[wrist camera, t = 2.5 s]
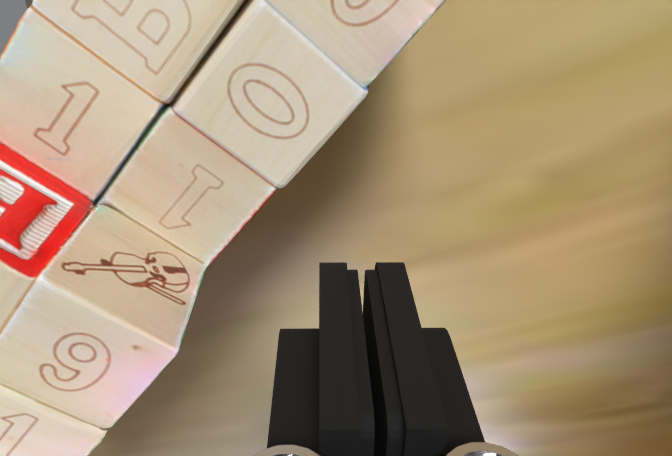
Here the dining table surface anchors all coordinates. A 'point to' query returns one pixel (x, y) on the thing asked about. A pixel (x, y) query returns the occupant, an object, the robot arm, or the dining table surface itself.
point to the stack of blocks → (150, 178)
